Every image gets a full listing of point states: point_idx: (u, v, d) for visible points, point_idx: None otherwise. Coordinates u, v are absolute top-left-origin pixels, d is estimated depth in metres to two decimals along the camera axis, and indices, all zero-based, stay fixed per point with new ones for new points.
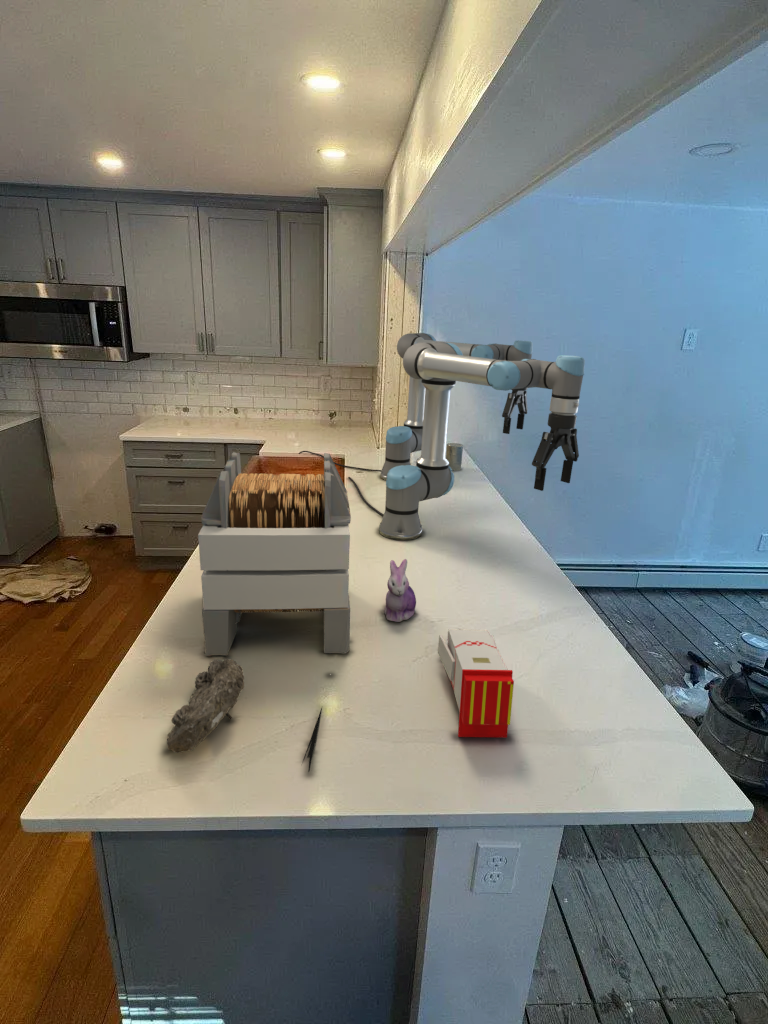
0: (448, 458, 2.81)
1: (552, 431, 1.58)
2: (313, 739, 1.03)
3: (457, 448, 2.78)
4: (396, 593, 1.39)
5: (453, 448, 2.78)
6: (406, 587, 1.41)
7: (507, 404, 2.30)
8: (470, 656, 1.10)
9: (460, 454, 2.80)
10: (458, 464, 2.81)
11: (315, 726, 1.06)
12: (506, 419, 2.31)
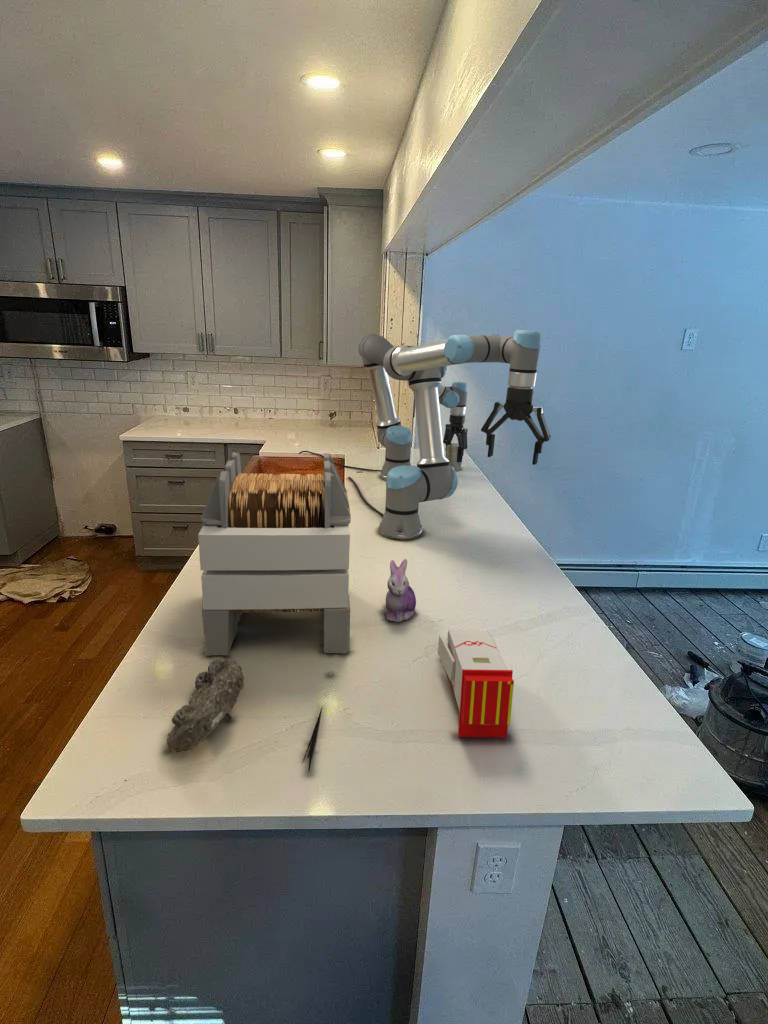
0: (448, 458, 2.81)
1: None
2: (313, 739, 1.03)
3: (457, 448, 2.78)
4: (396, 593, 1.39)
5: (453, 448, 2.78)
6: (406, 587, 1.41)
7: (464, 438, 2.74)
8: (470, 656, 1.10)
9: None
10: (458, 464, 2.81)
11: (315, 726, 1.06)
12: (463, 450, 2.78)
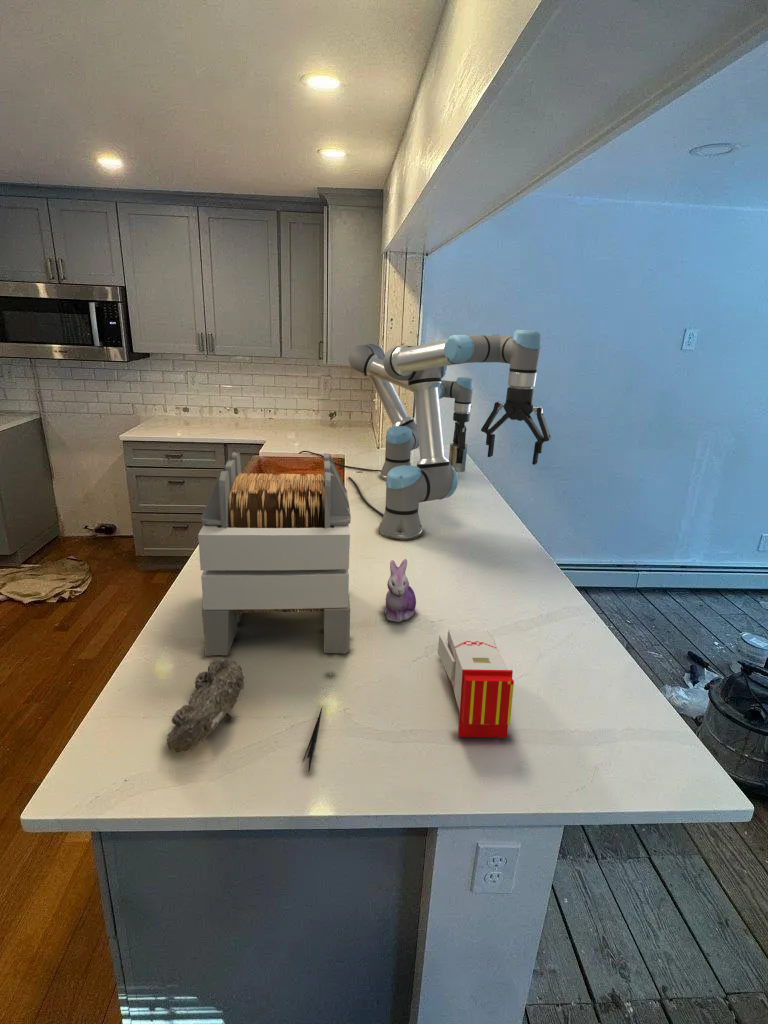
0: (449, 458, 2.65)
1: None
2: (313, 739, 1.03)
3: None
4: (396, 593, 1.39)
5: (453, 447, 2.61)
6: (406, 587, 1.41)
7: (461, 437, 2.55)
8: (470, 656, 1.10)
9: None
10: (458, 465, 2.63)
11: (315, 726, 1.06)
12: (461, 451, 2.58)
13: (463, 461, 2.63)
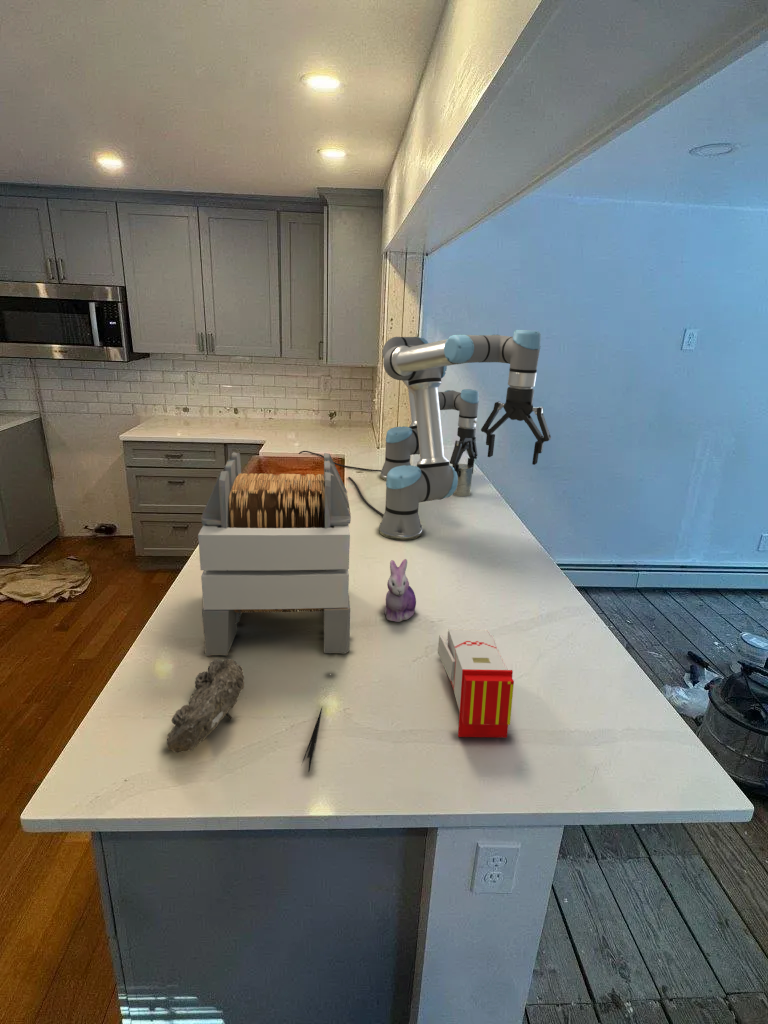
0: None
1: None
2: (313, 739, 1.03)
3: None
4: (396, 593, 1.39)
5: None
6: (406, 587, 1.41)
7: (454, 451, 2.35)
8: (470, 656, 1.10)
9: (459, 477, 2.41)
10: (456, 488, 2.43)
11: (315, 726, 1.06)
12: (454, 466, 2.36)
13: (462, 484, 2.42)
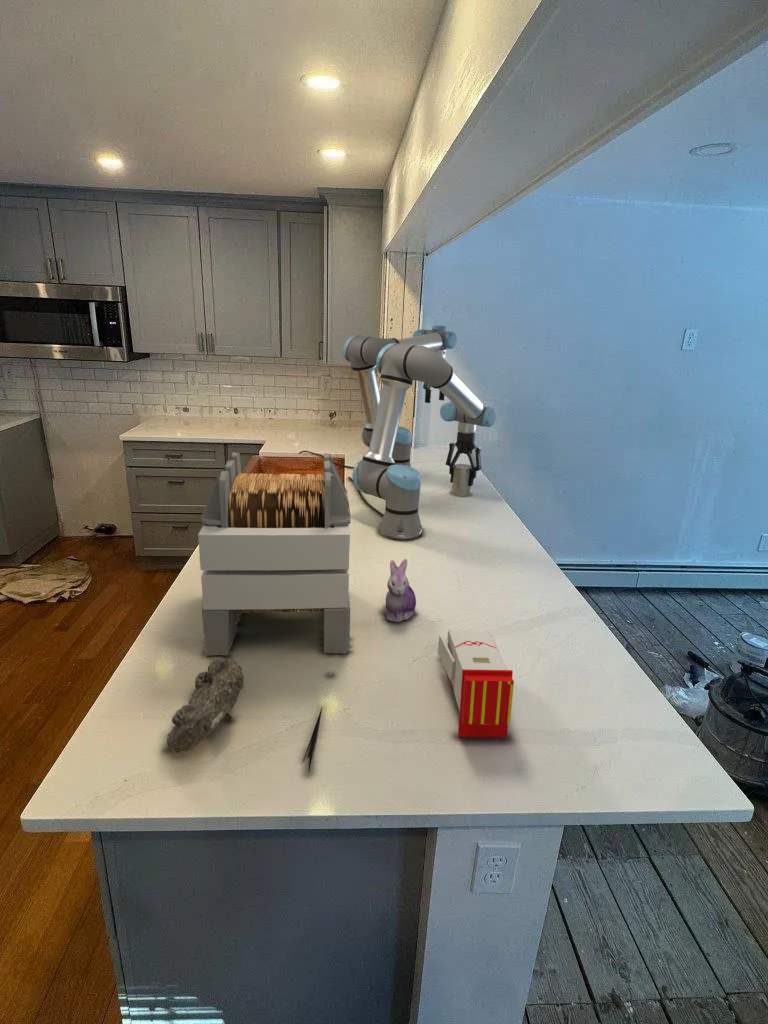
0: None
1: None
2: (313, 739, 1.03)
3: (455, 469, 2.41)
4: (396, 593, 1.39)
5: None
6: (406, 587, 1.41)
7: None
8: (470, 656, 1.10)
9: (459, 477, 2.41)
10: (456, 488, 2.43)
11: (315, 726, 1.06)
12: (426, 390, 2.79)
13: (462, 484, 2.42)
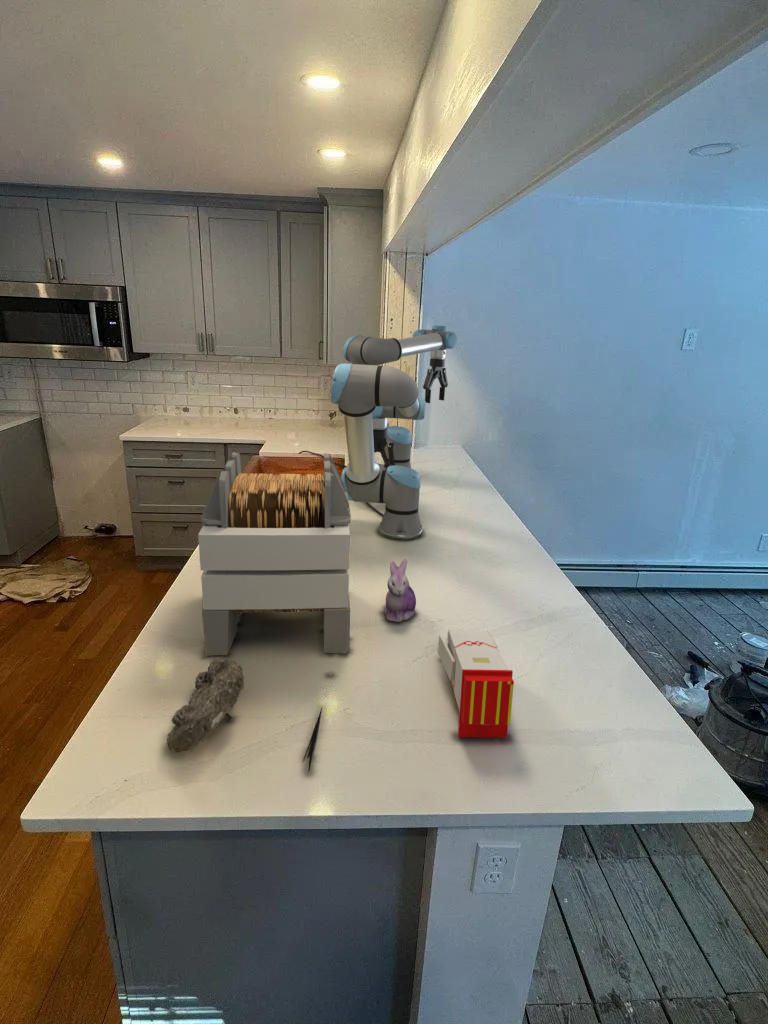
0: None
1: None
2: (313, 739, 1.03)
3: None
4: (396, 593, 1.39)
5: None
6: (406, 587, 1.41)
7: (427, 377, 2.78)
8: (470, 656, 1.10)
9: None
10: None
11: (315, 726, 1.06)
12: (426, 390, 2.79)
13: None
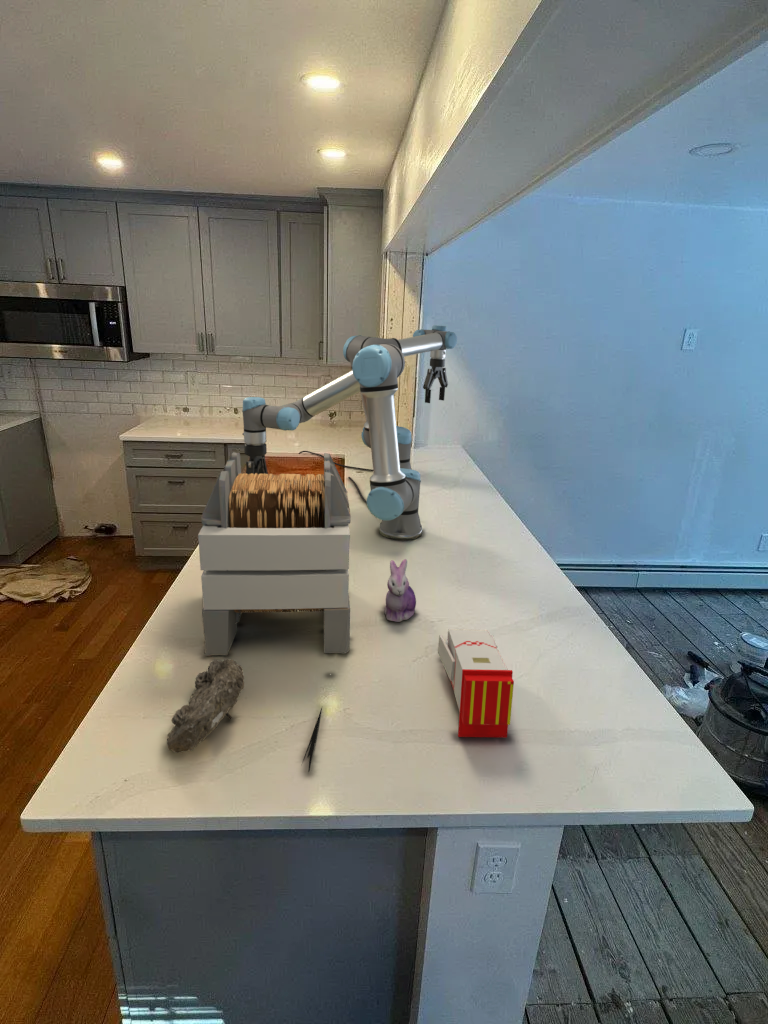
0: None
1: None
2: (313, 739, 1.03)
3: None
4: (396, 593, 1.39)
5: None
6: (406, 587, 1.41)
7: (427, 377, 2.78)
8: (470, 656, 1.10)
9: None
10: None
11: (315, 726, 1.06)
12: (426, 390, 2.79)
13: None
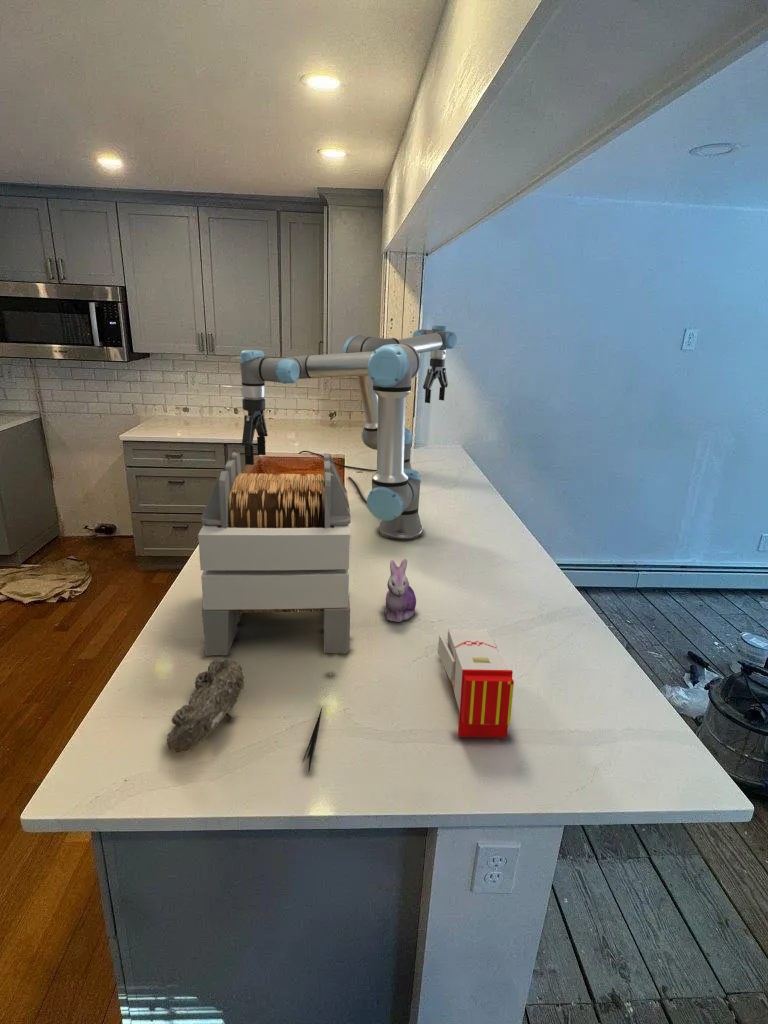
0: None
1: None
2: (313, 739, 1.03)
3: None
4: (396, 593, 1.39)
5: None
6: (406, 587, 1.41)
7: (427, 377, 2.78)
8: (470, 656, 1.10)
9: None
10: None
11: (315, 726, 1.06)
12: (426, 390, 2.79)
13: None
